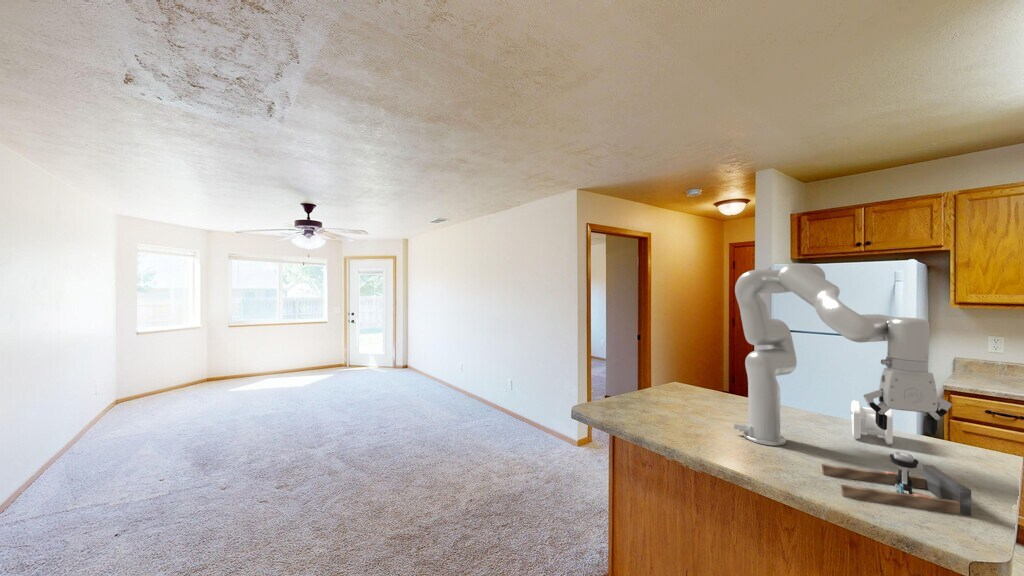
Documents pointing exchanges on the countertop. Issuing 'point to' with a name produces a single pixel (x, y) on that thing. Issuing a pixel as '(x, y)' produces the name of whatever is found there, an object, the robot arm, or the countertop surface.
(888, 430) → the cable organizer
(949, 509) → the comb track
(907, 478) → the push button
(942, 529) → the countertop surface
